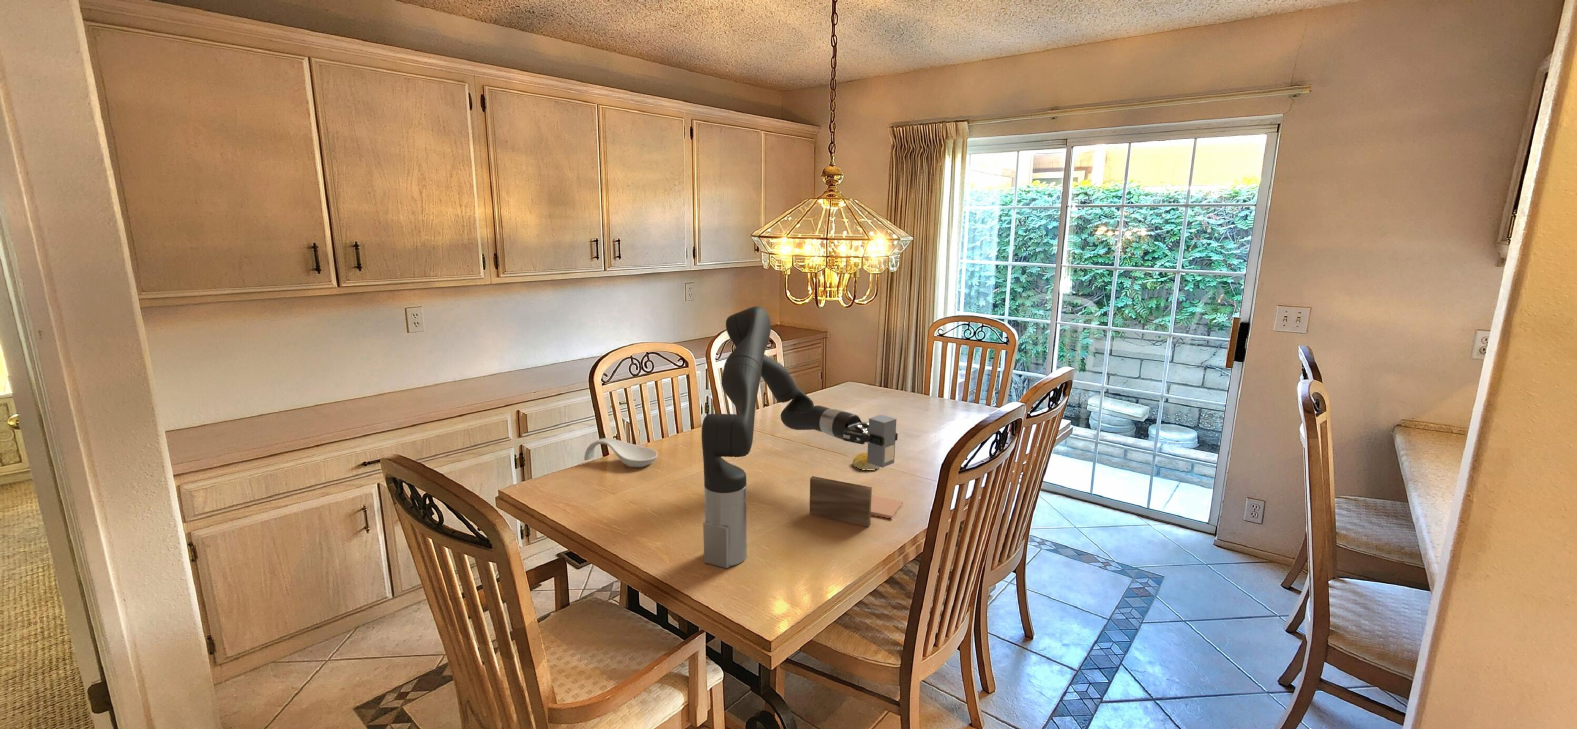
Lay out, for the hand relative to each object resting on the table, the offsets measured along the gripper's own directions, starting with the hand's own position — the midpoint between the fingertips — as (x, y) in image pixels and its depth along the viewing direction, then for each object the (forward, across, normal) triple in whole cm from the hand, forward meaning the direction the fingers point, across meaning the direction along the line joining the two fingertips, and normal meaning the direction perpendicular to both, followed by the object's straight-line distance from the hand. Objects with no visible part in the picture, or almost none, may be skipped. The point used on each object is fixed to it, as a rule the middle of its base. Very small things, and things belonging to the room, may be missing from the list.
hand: (890, 439), depth 164 cm
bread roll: (-24, +22, +20) cm, 38 cm away
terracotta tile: (-2, 0, +20) cm, 20 cm away
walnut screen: (-5, -13, +20) cm, 24 cm away
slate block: (-3, 0, +7) cm, 7 cm away
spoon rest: (-79, -32, +21) cm, 88 cm away
